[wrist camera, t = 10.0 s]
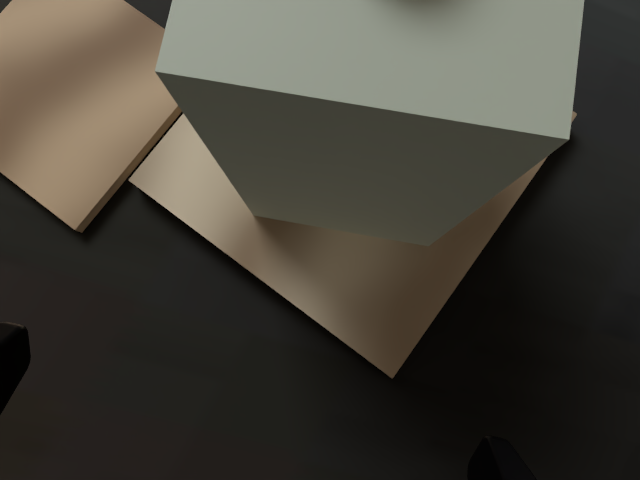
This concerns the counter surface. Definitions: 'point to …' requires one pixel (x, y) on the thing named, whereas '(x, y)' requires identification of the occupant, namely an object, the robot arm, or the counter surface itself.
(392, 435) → the counter surface
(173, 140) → the birch board
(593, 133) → the counter surface
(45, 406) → the counter surface
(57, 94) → the cork mat
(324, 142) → the knobbed sage box
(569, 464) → the counter surface
